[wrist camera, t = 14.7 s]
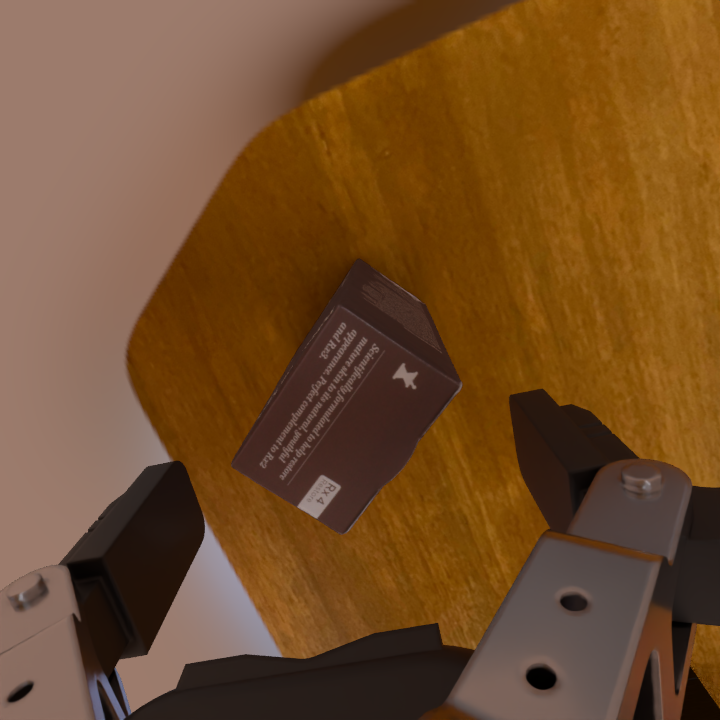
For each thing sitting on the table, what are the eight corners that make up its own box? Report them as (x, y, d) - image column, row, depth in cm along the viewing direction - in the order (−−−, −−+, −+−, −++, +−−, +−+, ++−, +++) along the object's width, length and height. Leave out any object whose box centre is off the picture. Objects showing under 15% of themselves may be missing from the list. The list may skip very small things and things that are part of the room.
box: (352, 252, 24) (339, 297, 13) (428, 304, 25) (479, 391, 14) (286, 351, 26) (222, 471, 14) (359, 398, 27) (354, 547, 15)
